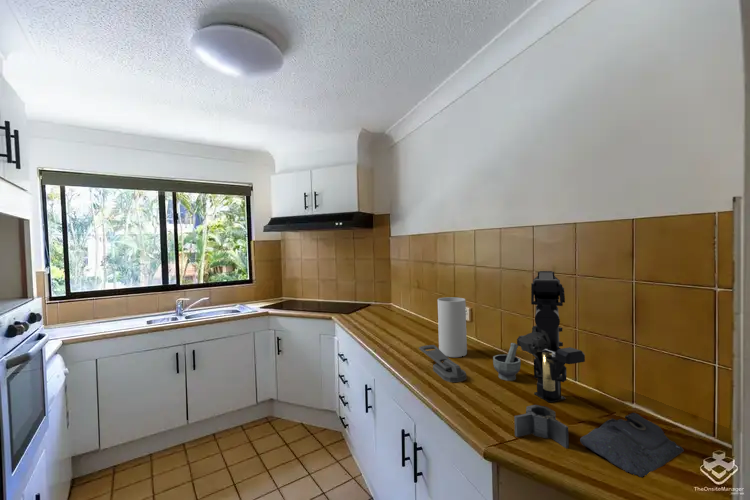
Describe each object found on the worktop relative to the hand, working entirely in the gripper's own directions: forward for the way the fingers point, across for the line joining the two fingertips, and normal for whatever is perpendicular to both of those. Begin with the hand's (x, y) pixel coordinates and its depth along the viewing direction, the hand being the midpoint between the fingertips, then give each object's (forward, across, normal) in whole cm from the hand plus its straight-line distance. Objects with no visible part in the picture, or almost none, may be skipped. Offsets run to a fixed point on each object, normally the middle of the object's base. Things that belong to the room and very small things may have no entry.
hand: (548, 378), depth 91 cm
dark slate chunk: (+12, +17, +6) cm, 21 cm away
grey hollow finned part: (+11, +7, -10) cm, 17 cm away
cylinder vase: (+11, -58, +3) cm, 59 cm away
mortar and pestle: (+11, -27, +8) cm, 30 cm away
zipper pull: (+11, -42, -11) cm, 45 cm away
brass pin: (+3, 0, 0) cm, 3 cm away
